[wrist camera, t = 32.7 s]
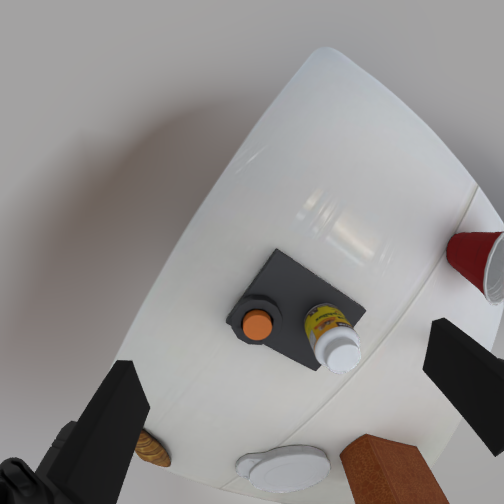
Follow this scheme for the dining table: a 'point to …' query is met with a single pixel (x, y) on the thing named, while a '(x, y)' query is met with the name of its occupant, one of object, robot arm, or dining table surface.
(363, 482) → the book
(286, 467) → the lid
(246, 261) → the dining table surface
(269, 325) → the button
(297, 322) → the scale
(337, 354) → the supplement bottle
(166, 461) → the croissant
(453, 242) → the plastic cup
